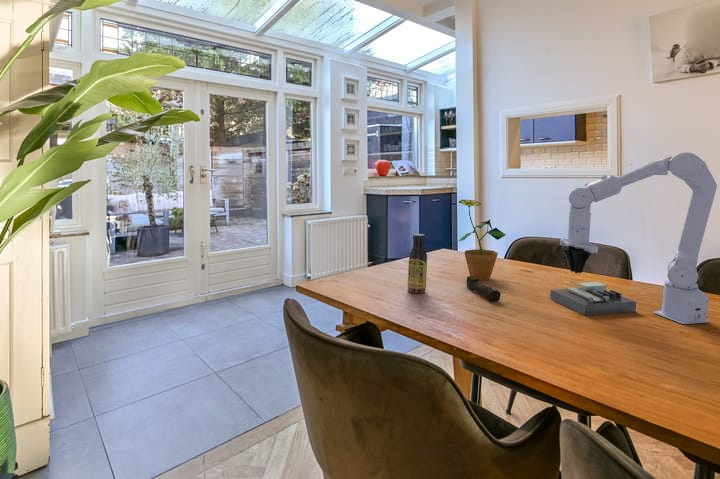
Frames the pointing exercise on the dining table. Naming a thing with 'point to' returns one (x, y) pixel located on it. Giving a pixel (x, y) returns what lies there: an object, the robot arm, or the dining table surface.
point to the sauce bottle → (417, 265)
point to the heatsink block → (589, 307)
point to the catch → (593, 286)
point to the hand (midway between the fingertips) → (576, 272)
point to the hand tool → (483, 289)
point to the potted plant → (481, 259)
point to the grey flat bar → (584, 294)
